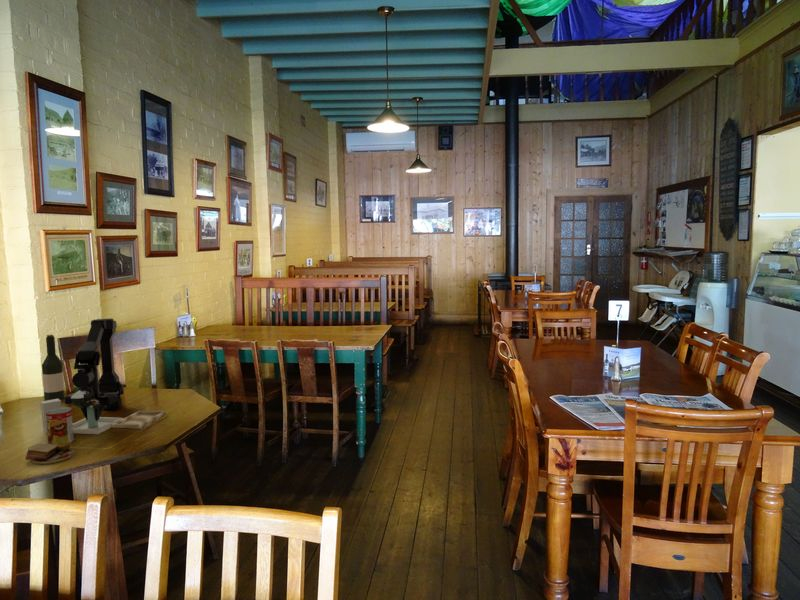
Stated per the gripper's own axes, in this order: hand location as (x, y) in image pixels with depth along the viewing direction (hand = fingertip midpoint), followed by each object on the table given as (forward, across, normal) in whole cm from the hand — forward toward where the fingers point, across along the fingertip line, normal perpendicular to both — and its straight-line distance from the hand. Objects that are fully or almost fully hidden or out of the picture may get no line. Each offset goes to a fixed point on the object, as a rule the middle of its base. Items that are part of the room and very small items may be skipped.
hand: (92, 420), depth 220 cm
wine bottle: (+3, -46, +37) cm, 59 cm away
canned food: (+3, -1, -16) cm, 16 cm away
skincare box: (+3, -13, -5) cm, 14 cm away
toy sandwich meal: (+4, +6, -30) cm, 31 cm away
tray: (+3, +14, +9) cm, 17 cm away
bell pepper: (+3, -27, +32) cm, 42 cm away
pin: (+2, 0, 0) cm, 2 cm away
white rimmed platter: (+3, 0, 0) cm, 3 cm away
